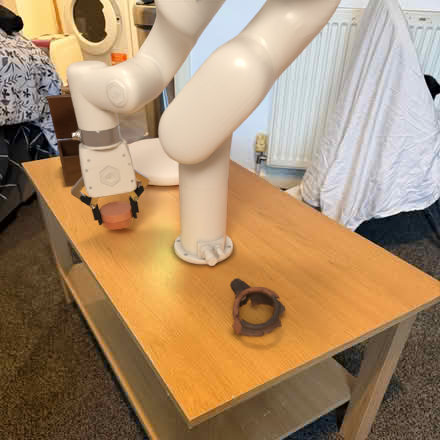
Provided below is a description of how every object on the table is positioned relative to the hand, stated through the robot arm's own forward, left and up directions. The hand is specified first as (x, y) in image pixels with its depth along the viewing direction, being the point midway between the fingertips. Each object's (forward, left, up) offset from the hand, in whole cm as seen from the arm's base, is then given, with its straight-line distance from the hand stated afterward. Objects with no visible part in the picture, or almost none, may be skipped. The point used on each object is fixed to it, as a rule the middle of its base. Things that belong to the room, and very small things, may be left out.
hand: (117, 218), depth 89 cm
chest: (+36, +3, -4) cm, 36 cm away
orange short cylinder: (0, 0, -1) cm, 1 cm away
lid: (+39, +3, +10) cm, 40 cm away
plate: (+32, -19, -4) cm, 37 cm away
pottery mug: (-35, -17, -4) cm, 39 cm away
